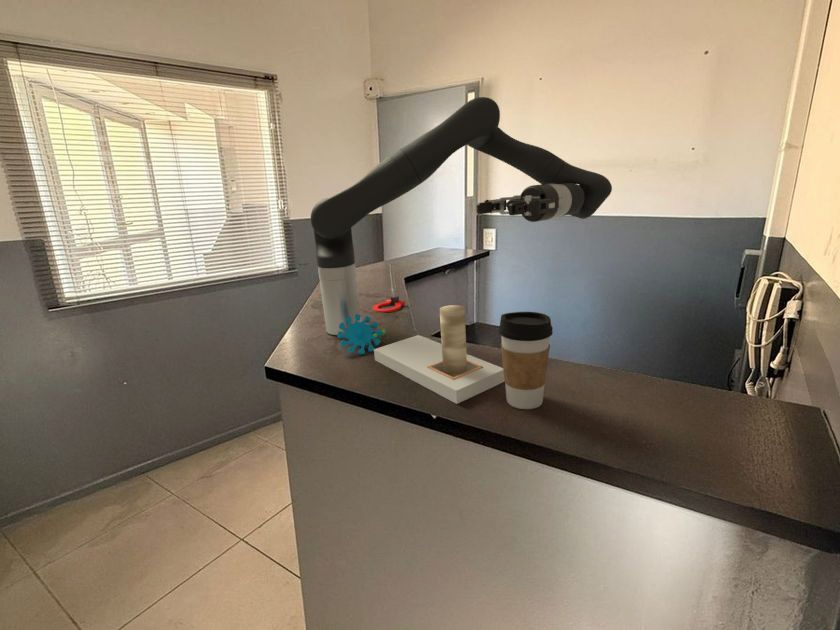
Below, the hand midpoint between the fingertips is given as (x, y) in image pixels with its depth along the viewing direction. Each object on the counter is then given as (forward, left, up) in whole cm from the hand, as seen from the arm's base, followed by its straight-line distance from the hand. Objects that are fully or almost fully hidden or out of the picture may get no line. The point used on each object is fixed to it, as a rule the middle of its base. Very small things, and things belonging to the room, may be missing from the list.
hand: (493, 209), depth 85 cm
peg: (+4, -15, -30) cm, 34 cm away
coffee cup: (+18, -12, -30) cm, 37 cm away
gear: (-23, -20, -30) cm, 43 cm away
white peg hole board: (-2, -15, -30) cm, 34 cm away
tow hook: (-46, +3, -30) cm, 55 cm away
